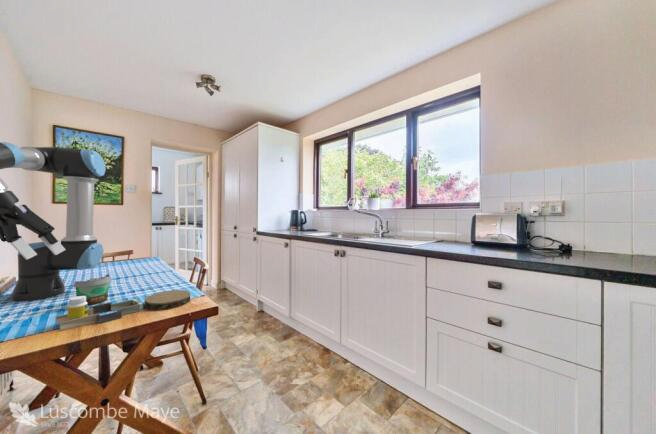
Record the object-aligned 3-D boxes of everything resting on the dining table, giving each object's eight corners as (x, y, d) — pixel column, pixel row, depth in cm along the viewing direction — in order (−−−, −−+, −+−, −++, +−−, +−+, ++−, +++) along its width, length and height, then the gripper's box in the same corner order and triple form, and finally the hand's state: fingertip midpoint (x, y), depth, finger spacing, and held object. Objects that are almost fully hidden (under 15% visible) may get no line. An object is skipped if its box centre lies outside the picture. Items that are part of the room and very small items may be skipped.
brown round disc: (146, 314, 92) (146, 306, 92) (143, 301, 104) (143, 294, 104) (194, 304, 102) (194, 297, 102) (186, 294, 114) (186, 287, 114)
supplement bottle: (88, 322, 83) (88, 297, 83) (67, 327, 80) (67, 301, 80) (87, 318, 87) (87, 294, 86) (67, 322, 83) (67, 297, 83)
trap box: (54, 321, 83) (54, 314, 83) (133, 303, 101) (133, 297, 101) (61, 333, 76) (61, 325, 76) (145, 311, 93) (145, 305, 93)
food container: (85, 309, 94) (85, 282, 94) (73, 307, 96) (73, 281, 95) (119, 298, 106) (119, 275, 106) (107, 297, 108) (107, 274, 108)
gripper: (-54, 207, 71) (6, 266, 80) (1, 192, 64) (59, 257, 73) (-18, 196, 77) (33, 252, 86) (35, 182, 71) (85, 243, 80)
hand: (45, 254), depth 80 cm, fingers open, 13 cm apart
